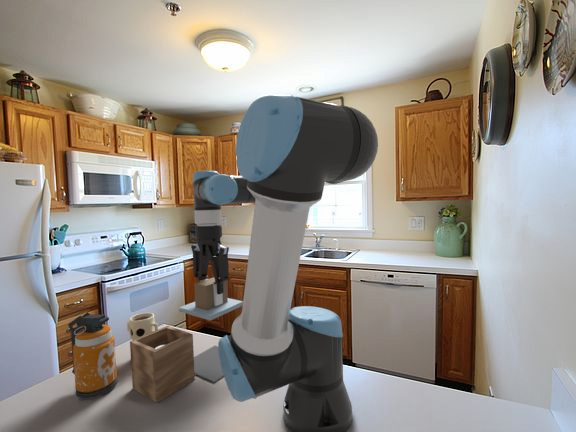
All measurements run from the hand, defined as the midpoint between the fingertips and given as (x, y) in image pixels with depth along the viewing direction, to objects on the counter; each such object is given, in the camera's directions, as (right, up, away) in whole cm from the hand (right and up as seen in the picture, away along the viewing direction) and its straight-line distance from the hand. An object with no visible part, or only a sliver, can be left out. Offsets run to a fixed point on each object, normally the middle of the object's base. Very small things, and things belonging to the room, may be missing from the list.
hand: (211, 302), depth 87 cm
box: (-10, -19, -9) cm, 23 cm away
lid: (0, -3, 0) cm, 3 cm away
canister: (-28, -20, -10) cm, 36 cm away
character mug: (-23, -19, +5) cm, 30 cm away
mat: (+1, -18, +1) cm, 18 cm away
